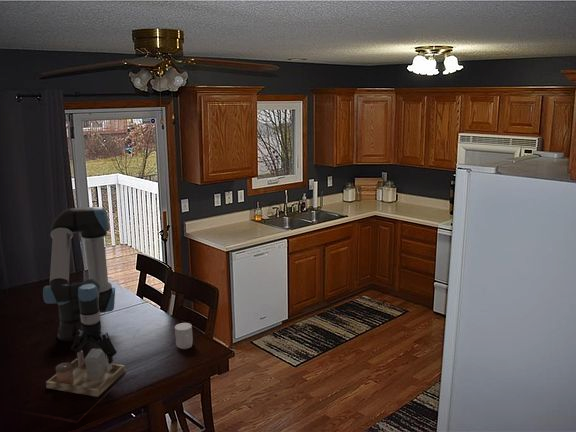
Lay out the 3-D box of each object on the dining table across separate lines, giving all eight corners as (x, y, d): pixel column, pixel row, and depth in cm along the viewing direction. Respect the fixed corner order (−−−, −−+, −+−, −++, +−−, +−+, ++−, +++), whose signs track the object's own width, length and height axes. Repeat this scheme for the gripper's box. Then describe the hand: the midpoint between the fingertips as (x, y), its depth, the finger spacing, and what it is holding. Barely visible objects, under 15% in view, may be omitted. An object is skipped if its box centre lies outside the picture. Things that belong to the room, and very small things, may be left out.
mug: (172, 324, 254) (188, 320, 258) (173, 341, 257) (189, 338, 260) (179, 334, 244) (196, 330, 248) (180, 352, 246) (197, 349, 250)
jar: (54, 386, 218) (52, 369, 216) (64, 378, 224) (62, 361, 222) (67, 388, 216) (65, 371, 214) (77, 380, 222) (75, 363, 220)
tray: (46, 389, 217) (45, 382, 216) (77, 365, 236) (76, 357, 235) (98, 398, 211) (97, 390, 210) (125, 372, 230) (125, 365, 229)
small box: (93, 370, 230) (91, 348, 227) (106, 370, 230) (104, 348, 227) (86, 380, 222) (84, 357, 220) (100, 380, 222) (97, 357, 220)
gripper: (58, 321, 219) (64, 368, 225) (112, 328, 213) (116, 376, 218) (70, 314, 226) (75, 359, 232) (122, 320, 220) (126, 367, 225)
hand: (95, 367), depth 225 cm, fingers open, 13 cm apart
